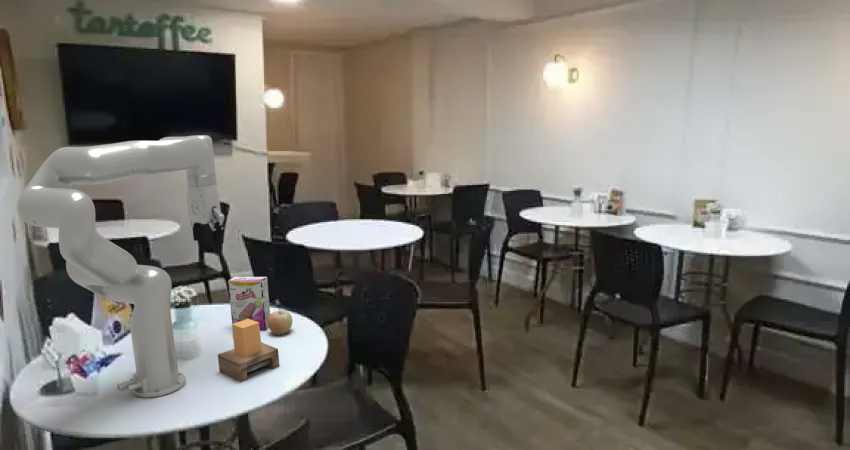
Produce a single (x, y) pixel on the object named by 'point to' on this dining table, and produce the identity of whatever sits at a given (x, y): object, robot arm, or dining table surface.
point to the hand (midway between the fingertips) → (208, 242)
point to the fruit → (280, 322)
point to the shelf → (247, 362)
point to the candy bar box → (249, 300)
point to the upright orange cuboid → (246, 337)
